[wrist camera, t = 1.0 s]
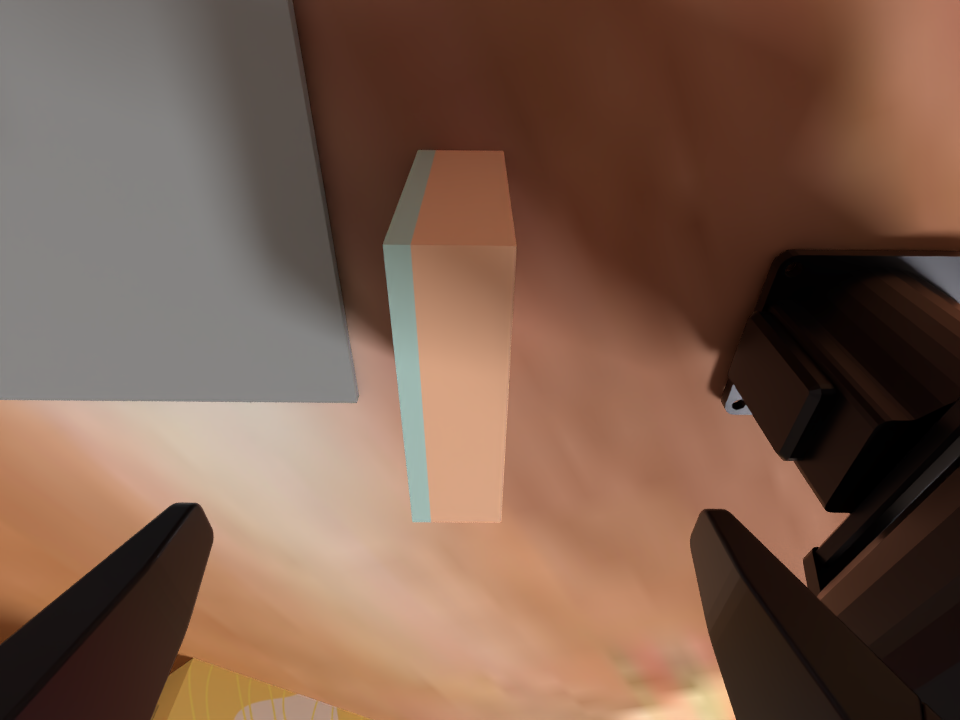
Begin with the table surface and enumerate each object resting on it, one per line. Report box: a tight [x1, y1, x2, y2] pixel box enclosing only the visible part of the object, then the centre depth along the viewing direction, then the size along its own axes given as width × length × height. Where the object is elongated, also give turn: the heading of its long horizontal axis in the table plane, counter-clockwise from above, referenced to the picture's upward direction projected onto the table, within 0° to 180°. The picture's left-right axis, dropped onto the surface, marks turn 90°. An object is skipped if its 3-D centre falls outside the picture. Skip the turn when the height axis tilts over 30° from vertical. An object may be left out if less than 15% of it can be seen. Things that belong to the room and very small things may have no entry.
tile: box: [383, 150, 517, 523], centre depth 14 cm, size 2×8×6 cm, turn 179°
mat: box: [0, 0, 359, 403], centre depth 15 cm, size 16×14×1 cm
